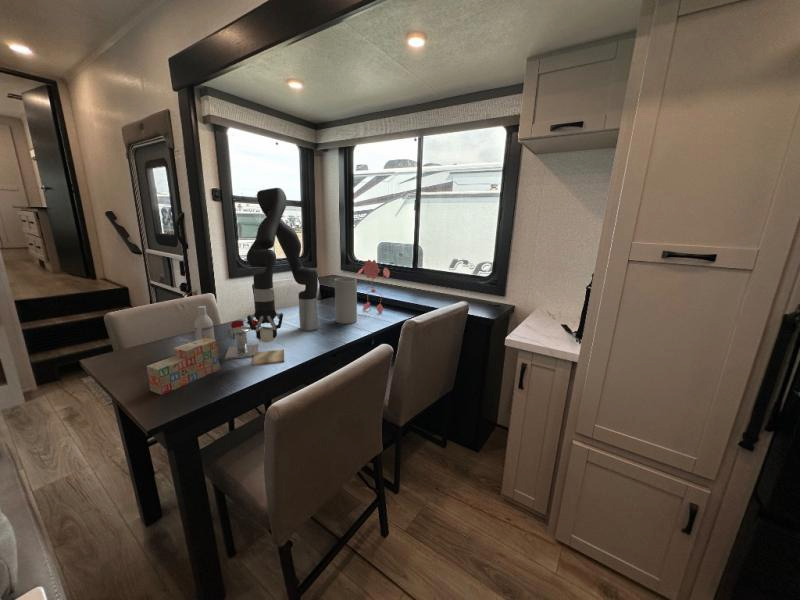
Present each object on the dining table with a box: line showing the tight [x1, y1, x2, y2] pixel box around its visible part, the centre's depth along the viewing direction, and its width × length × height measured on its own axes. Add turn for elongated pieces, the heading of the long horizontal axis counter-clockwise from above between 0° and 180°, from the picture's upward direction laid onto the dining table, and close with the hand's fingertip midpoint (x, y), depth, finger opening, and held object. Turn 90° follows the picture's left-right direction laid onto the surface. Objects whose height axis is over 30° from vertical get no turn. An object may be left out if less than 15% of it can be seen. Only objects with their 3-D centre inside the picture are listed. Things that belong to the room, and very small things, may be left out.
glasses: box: [230, 318, 263, 340], centre depth 163 cm, size 14×16×5 cm
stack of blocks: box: [146, 338, 221, 396], centre depth 112 cm, size 21×6×12 cm, turn 157°
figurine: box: [355, 259, 391, 318], centre depth 199 cm, size 15×26×35 cm, turn 61°
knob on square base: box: [224, 326, 259, 361], centre depth 136 cm, size 12×12×11 cm
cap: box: [258, 326, 275, 343], centre depth 131 cm, size 5×7×6 cm
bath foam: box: [193, 305, 216, 341], centre depth 137 cm, size 7×7×20 cm
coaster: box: [251, 348, 285, 366], centre depth 133 cm, size 12×12×1 cm
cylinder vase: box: [334, 277, 358, 325], centre depth 184 cm, size 12×12×25 cm
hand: (266, 338), depth 131 cm, fingers closed on cap, 5 cm apart
